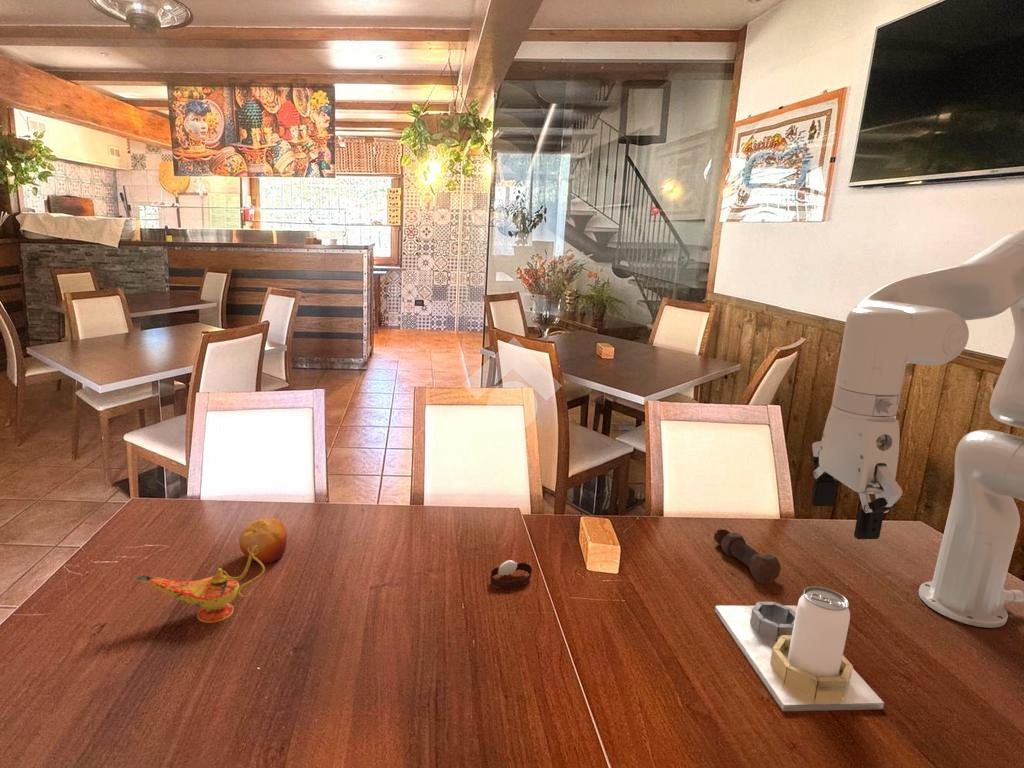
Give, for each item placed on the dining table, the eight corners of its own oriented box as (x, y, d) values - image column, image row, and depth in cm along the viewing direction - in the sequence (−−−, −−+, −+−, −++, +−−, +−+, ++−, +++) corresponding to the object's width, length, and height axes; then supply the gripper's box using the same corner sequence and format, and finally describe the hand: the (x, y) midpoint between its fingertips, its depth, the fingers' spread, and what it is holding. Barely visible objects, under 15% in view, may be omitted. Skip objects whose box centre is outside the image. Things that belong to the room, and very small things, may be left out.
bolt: (721, 551, 126) (769, 590, 112) (703, 542, 124) (750, 579, 110) (736, 527, 126) (786, 563, 112) (719, 517, 124) (767, 552, 110)
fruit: (306, 543, 113) (285, 517, 108) (275, 579, 109) (252, 553, 104) (277, 530, 117) (257, 504, 112) (246, 564, 113) (224, 539, 108)
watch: (524, 571, 111) (525, 553, 110) (536, 584, 107) (538, 565, 106) (485, 579, 108) (486, 560, 107) (496, 593, 104) (497, 574, 103)
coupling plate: (794, 610, 103) (798, 592, 102) (882, 709, 82) (887, 686, 81) (714, 611, 102) (717, 592, 101) (782, 711, 81) (786, 688, 80)
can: (834, 696, 82) (850, 617, 80) (782, 677, 86) (796, 600, 83) (838, 670, 88) (854, 595, 85) (790, 652, 91) (803, 579, 88)
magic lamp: (146, 605, 95) (140, 540, 93) (270, 596, 99) (267, 533, 97) (130, 633, 89) (122, 564, 86) (263, 621, 93) (260, 555, 90)
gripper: (941, 422, 73) (913, 552, 77) (850, 385, 90) (831, 494, 94) (883, 422, 72) (857, 553, 76) (801, 385, 89) (784, 494, 93)
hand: (843, 520), depth 85 cm, fingers open, 9 cm apart
